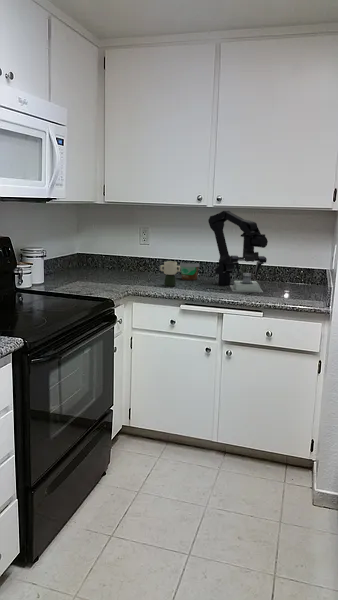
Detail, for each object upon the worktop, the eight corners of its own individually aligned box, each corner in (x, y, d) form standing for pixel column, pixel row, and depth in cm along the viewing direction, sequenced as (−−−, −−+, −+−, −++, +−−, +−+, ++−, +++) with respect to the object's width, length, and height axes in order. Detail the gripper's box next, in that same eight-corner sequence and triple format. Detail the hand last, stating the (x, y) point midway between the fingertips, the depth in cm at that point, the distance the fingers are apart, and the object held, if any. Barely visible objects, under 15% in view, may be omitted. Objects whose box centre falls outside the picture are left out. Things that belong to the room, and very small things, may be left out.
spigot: (242, 289, 261) (243, 274, 259) (241, 287, 266) (242, 272, 264) (250, 289, 261) (251, 274, 259) (249, 287, 265) (250, 273, 264)
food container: (175, 279, 288) (176, 262, 286) (180, 277, 294) (180, 261, 291) (195, 281, 283) (196, 264, 281) (199, 279, 289) (199, 262, 286)
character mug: (180, 284, 272) (180, 261, 269) (179, 287, 265) (180, 263, 262) (160, 284, 273) (161, 260, 270) (159, 286, 266) (159, 262, 263)
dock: (232, 292, 256) (233, 285, 255) (229, 286, 271) (230, 279, 271) (263, 292, 256) (263, 286, 255) (258, 286, 271) (259, 280, 270)
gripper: (232, 247, 251) (231, 277, 254) (269, 248, 250) (267, 278, 254) (230, 244, 261) (229, 273, 265) (265, 245, 261) (263, 274, 265)
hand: (247, 275), depth 262 cm, fingers open, 9 cm apart
